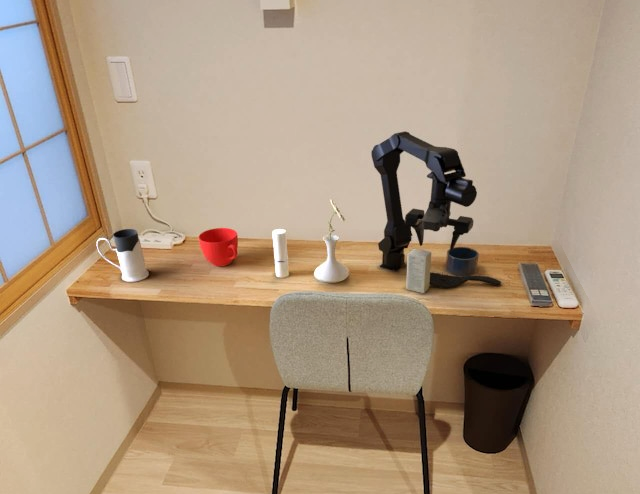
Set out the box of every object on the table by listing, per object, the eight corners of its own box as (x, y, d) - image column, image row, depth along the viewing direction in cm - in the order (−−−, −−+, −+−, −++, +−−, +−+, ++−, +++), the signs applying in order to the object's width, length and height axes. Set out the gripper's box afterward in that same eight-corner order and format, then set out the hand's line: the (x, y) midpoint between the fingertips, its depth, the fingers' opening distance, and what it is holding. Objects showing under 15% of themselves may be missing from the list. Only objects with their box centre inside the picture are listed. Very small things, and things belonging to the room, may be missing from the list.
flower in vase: (346, 287, 172) (346, 210, 158) (311, 285, 173) (307, 208, 160) (352, 269, 182) (352, 195, 168) (318, 267, 184) (316, 194, 170)
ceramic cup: (222, 278, 180) (218, 249, 174) (195, 262, 190) (191, 235, 185) (254, 265, 186) (251, 238, 181) (227, 251, 197) (223, 224, 192)
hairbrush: (504, 282, 165) (420, 276, 167) (501, 293, 167) (419, 286, 169) (500, 270, 172) (420, 264, 174) (497, 280, 174) (418, 275, 176)
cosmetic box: (429, 287, 170) (432, 251, 163) (423, 293, 167) (426, 257, 160) (410, 283, 172) (413, 247, 166) (404, 289, 169) (407, 252, 163)
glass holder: (146, 280, 179) (136, 237, 171) (102, 283, 179) (90, 240, 170) (151, 269, 187) (141, 227, 178) (108, 271, 186) (97, 229, 178)
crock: (440, 270, 179) (442, 255, 176) (452, 259, 186) (454, 244, 183) (469, 278, 174) (471, 262, 171) (481, 266, 181) (483, 250, 178)
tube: (283, 270, 183) (279, 227, 174) (291, 274, 180) (288, 231, 172) (273, 274, 180) (269, 231, 172) (281, 278, 178) (278, 235, 169)
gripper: (399, 200, 151) (396, 252, 160) (465, 210, 144) (458, 265, 152) (413, 188, 159) (410, 239, 168) (477, 197, 152) (470, 249, 160)
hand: (436, 248), depth 162 cm, fingers open, 9 cm apart
